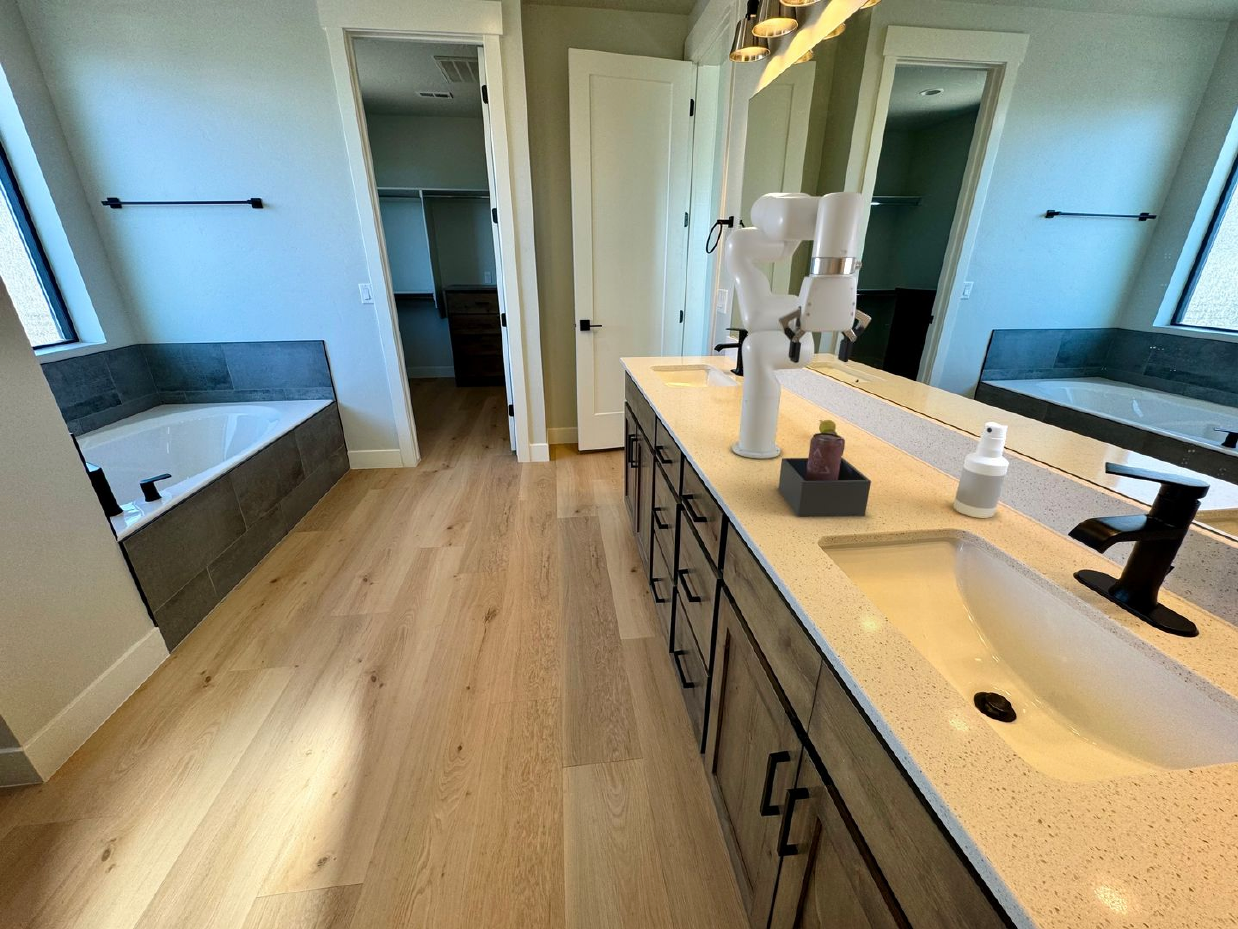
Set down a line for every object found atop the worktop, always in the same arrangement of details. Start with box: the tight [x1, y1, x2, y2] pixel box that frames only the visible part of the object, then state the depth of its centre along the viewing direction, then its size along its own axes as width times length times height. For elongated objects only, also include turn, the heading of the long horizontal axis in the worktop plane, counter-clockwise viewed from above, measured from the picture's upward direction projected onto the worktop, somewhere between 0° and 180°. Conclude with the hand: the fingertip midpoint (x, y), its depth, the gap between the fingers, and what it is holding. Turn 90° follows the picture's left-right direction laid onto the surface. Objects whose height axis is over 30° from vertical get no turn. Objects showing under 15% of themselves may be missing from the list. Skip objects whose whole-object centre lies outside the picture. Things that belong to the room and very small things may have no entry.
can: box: [805, 432, 846, 481], centre depth 101 cm, size 6×6×14 cm
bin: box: [778, 456, 872, 518], centre depth 102 cm, size 13×13×8 cm
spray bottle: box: [952, 421, 1010, 519], centre depth 95 cm, size 7×7×18 cm
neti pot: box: [818, 419, 838, 435], centre depth 137 cm, size 4×15×6 cm, turn 0°
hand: (818, 361), depth 97 cm, fingers open, 9 cm apart
